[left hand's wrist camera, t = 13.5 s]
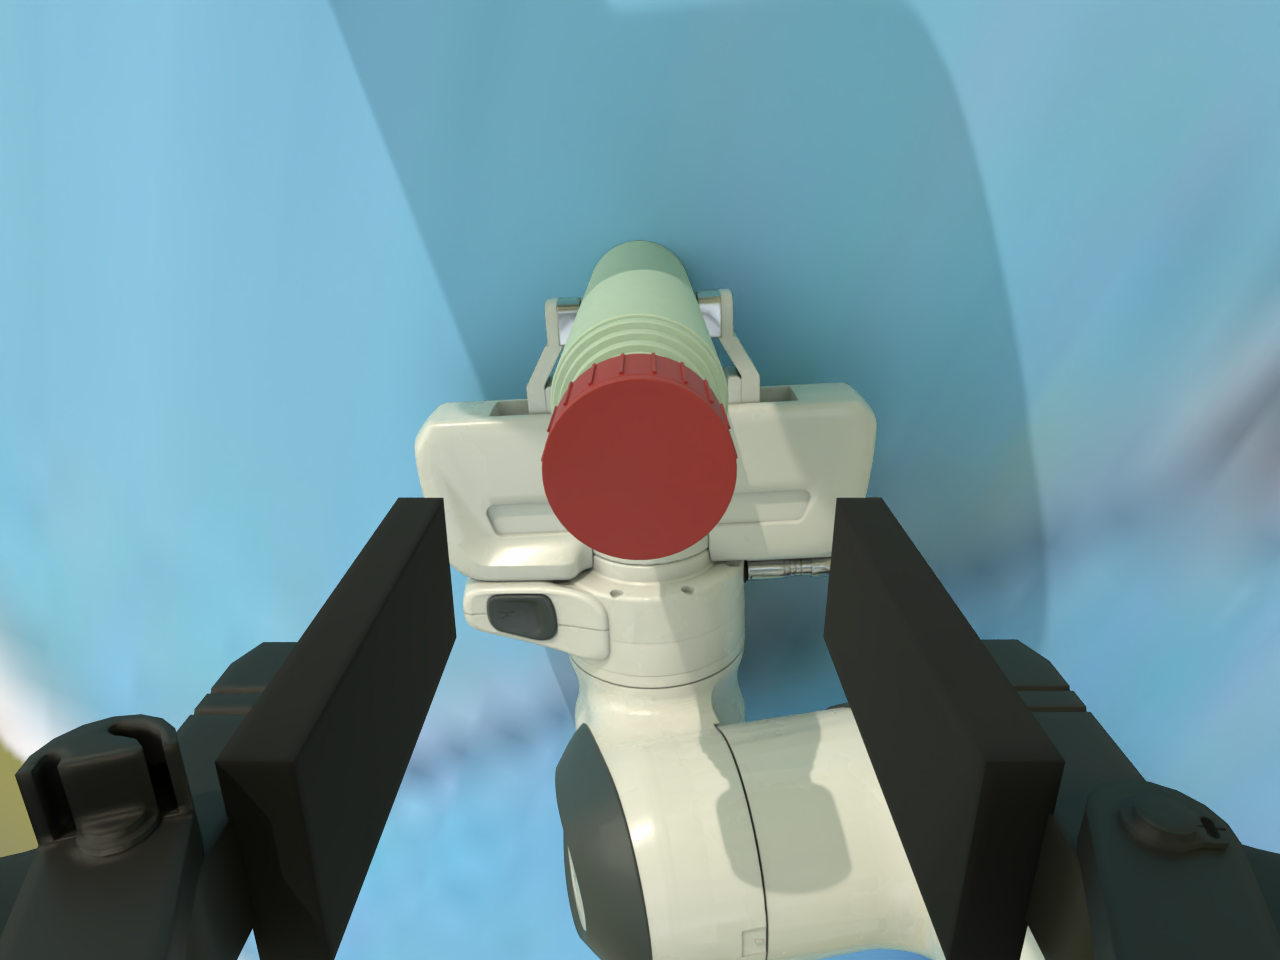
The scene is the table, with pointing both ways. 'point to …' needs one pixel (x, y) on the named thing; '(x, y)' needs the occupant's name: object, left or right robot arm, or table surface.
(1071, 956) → the left robot arm
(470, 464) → the right robot arm
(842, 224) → the table surface
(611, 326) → the bottle
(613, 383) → the cap
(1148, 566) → the table surface
